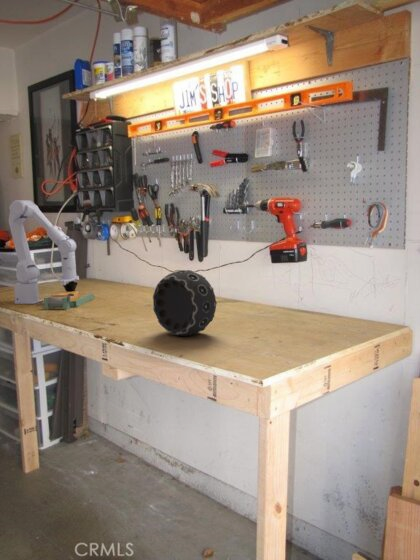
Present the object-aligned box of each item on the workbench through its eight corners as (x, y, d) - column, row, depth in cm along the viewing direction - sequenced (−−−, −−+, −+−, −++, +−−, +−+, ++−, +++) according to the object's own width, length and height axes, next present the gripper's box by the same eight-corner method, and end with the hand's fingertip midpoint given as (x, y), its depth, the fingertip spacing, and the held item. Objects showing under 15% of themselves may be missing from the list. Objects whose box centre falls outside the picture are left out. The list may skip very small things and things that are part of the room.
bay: (39, 309, 205) (38, 294, 204) (66, 298, 229) (65, 284, 228) (72, 309, 203) (71, 294, 202) (95, 298, 226) (94, 284, 225)
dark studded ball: (173, 326, 169) (171, 267, 166) (221, 335, 157) (219, 270, 154) (150, 333, 161) (147, 271, 158) (198, 343, 149) (196, 275, 146)
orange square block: (52, 306, 211) (51, 294, 210) (61, 302, 218) (60, 291, 218) (70, 306, 209) (70, 294, 209) (78, 303, 217) (78, 291, 216)
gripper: (70, 270, 209) (72, 302, 211) (84, 265, 223) (86, 296, 225) (54, 270, 210) (56, 302, 212) (69, 265, 224) (71, 296, 226)
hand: (71, 299), depth 218 cm, fingers closed
